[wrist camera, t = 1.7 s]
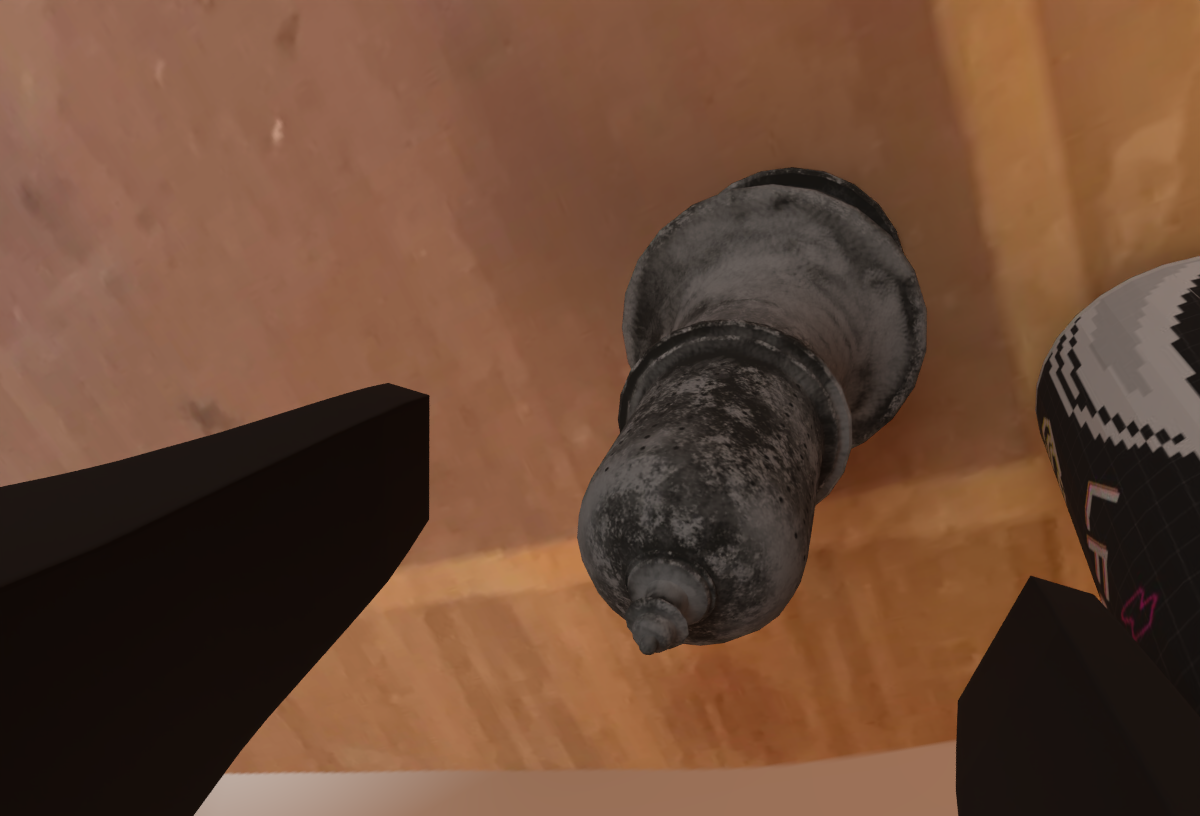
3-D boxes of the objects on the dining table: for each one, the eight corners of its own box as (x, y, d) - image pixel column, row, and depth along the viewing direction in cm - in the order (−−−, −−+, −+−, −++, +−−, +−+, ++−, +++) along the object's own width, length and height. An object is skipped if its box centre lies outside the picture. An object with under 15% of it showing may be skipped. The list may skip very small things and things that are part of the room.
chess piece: (981, 243, 16) (1149, 659, 6) (818, 435, 19) (740, 912, 9) (745, 101, 16) (503, 254, 6) (625, 315, 19) (337, 647, 9)
